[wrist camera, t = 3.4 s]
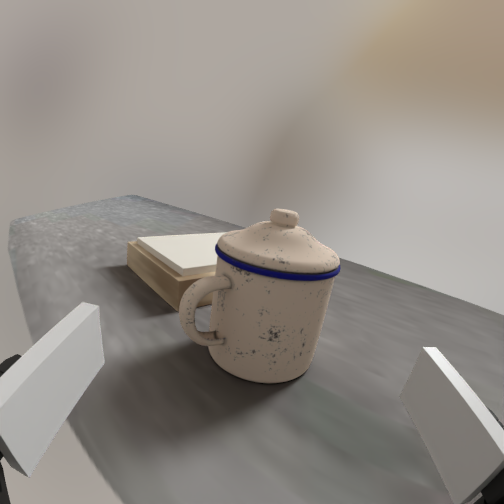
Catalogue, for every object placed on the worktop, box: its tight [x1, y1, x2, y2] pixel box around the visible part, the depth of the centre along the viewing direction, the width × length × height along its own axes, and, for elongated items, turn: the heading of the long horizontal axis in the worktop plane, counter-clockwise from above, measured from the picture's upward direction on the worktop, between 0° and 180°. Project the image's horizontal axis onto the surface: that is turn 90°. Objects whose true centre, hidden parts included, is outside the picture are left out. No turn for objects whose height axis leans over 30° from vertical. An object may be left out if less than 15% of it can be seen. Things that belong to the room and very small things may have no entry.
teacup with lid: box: [179, 209, 340, 383], centre depth 21 cm, size 12×9×12 cm
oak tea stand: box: [127, 232, 227, 311], centre depth 39 cm, size 18×14×4 cm
